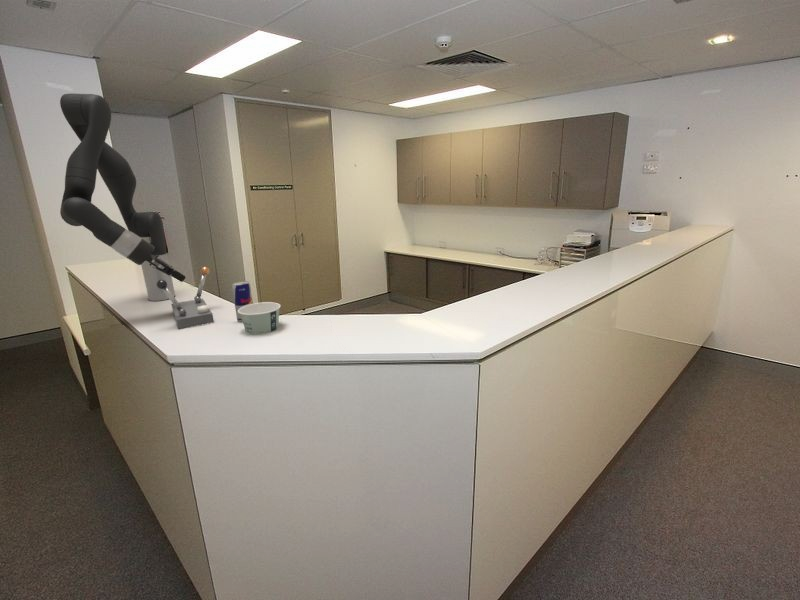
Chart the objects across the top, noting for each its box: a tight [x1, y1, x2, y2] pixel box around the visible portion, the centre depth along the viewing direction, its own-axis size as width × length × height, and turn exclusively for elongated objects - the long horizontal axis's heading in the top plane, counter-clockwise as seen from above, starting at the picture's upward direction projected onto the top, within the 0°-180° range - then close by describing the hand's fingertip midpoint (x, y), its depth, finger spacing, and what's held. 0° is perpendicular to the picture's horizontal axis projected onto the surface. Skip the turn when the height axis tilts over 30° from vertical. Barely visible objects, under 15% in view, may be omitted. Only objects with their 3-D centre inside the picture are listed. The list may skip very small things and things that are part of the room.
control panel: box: [171, 298, 215, 330], centre depth 135 cm, size 22×10×3 cm, turn 32°
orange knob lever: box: [193, 266, 211, 303], centre depth 140 cm, size 3×3×13 cm
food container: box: [238, 301, 281, 335], centre depth 121 cm, size 12×12×6 cm
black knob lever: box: [156, 280, 186, 316], centre depth 124 cm, size 3×3×13 cm
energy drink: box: [231, 280, 254, 323], centre depth 129 cm, size 5×5×12 cm
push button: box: [197, 304, 210, 313], centre depth 130 cm, size 3×3×2 cm
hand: (183, 279), depth 137 cm, fingers closed
